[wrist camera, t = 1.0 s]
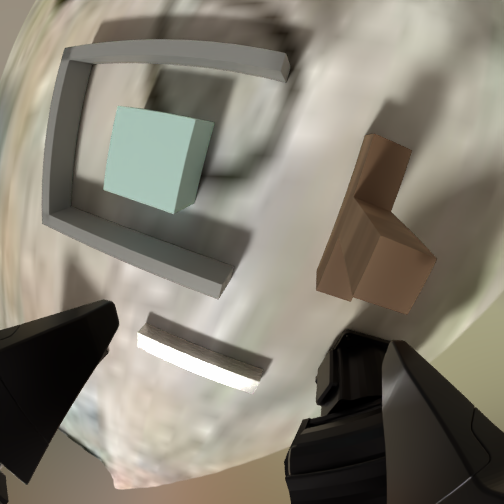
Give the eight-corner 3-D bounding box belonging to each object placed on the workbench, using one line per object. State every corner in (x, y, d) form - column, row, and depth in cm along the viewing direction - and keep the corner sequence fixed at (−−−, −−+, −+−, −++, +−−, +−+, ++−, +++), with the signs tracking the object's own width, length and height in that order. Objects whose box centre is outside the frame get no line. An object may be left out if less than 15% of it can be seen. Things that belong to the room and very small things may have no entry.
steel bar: (263, 366, 25) (259, 382, 23) (257, 379, 26) (253, 394, 24) (147, 320, 26) (137, 332, 24) (147, 335, 27) (137, 346, 25)
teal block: (215, 122, 18) (195, 119, 15) (195, 202, 20) (173, 214, 17) (145, 109, 18) (117, 105, 15) (130, 181, 21) (103, 189, 18)
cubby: (290, 66, 15) (285, 53, 13) (230, 279, 22) (218, 299, 19) (87, 52, 17) (64, 48, 14) (63, 214, 23) (42, 223, 21)
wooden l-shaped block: (397, 149, 16) (474, 158, 7) (346, 280, 20) (361, 381, 11) (364, 135, 16) (418, 126, 7) (316, 270, 20) (312, 369, 11)
